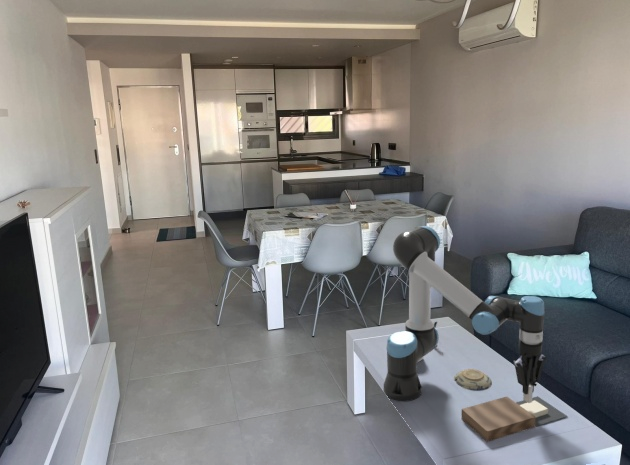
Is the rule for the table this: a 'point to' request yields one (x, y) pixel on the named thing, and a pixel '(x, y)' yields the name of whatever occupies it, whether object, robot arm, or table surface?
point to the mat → (547, 418)
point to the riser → (498, 418)
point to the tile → (535, 408)
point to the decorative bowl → (473, 379)
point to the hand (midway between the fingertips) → (527, 400)
